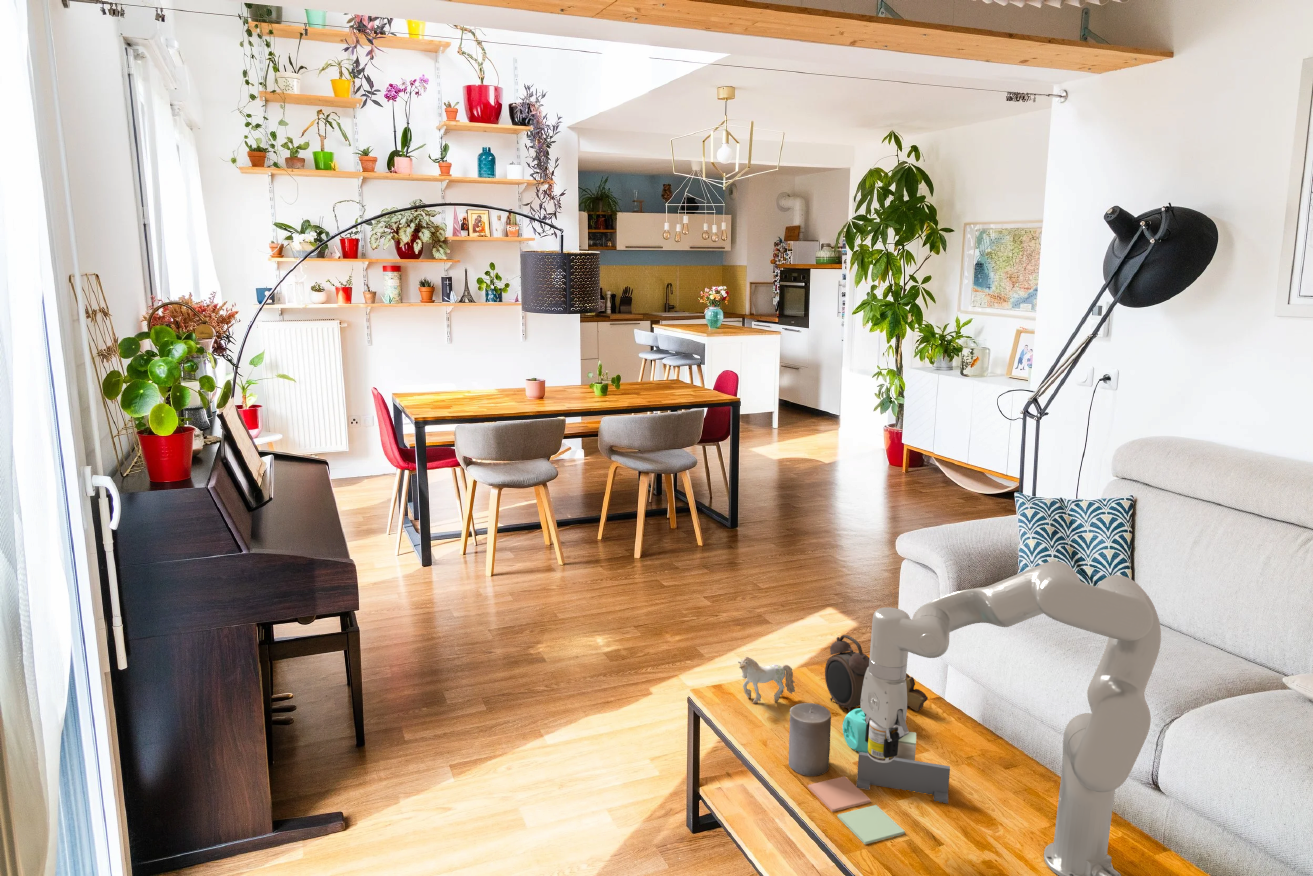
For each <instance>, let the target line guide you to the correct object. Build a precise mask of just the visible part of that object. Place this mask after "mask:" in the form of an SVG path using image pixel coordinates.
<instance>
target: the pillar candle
mask: <svg viewBox="0 0 1313 876" xmlns="http://www.w3.org/2000/svg"><path fill="white" fill-rule="evenodd" d="M831 724H832V714H831V711H830V710H829V709H828V708H827V707H825V706H823V705H821V704H818V703H812V702H803V703H802V702H801V703H797V704H795V705H794V706H792V707H790V709H789V734H788V735H789V737H788V766H789V768H790V769H792V770H793V771H794V772H796V774H800V775H803V776H808V777H815V776H820V775H823V774H826V773H827V772H828V771H829V769H830V753H831V752H830V750H831V729H832V728H831V726H832V725H831Z"/></svg>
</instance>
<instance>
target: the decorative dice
mask: <svg viewBox="0 0 1313 876" xmlns="http://www.w3.org/2000/svg"><path fill="white" fill-rule="evenodd" d="M842 733H843V734H842V735H843V738H844V740H845V743H846V744H847V746H848V747H849V748H850V749H851V748H852V749H851V750H853V749H854V750H853V751H855V750H856V751H855V752H857V751H858V753H859V752H864V753H868V743H867V742H866V741H865V735H866V723H865V714H864V712H863V711H862V709H861V708H858V707H856V708H854V709H851V712H849V711H848V713H847V714H846V715H845V716H844V719H843V722H842Z"/></svg>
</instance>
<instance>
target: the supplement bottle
mask: <svg viewBox="0 0 1313 876" xmlns="http://www.w3.org/2000/svg"><path fill="white" fill-rule="evenodd" d="M894 732H895V728H891V733H894ZM885 739H887V737H886V729H885V728H883V727H882V726H880V725H879V724H878V723H876V722H875V721H874V720H873V719H870V723H869V738H868V756H869V757H870V758H871V759H872V760H874V761H877V762H881V763H887V762H891V761H892V760H893V759H894V757H895V756H894V757H889V758H885V757H884V756H883V750H884V740H885Z"/></svg>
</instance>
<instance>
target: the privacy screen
mask: <svg viewBox="0 0 1313 876" xmlns="http://www.w3.org/2000/svg"><path fill="white" fill-rule="evenodd" d="M857 759H858V760H857V772H856V773H857V775H856V784H855V786H856V787H857V788H858V789H859V790H868V791H870V790H871V785H872V786H876V787H877V786H879V787H884V788H890V789H896V790H900V789H902V791H906V790H909V791H908V792H912V791H915V792H914V793H918V792H919V793H920V794H924V793H926V794H925V795H930V794H932V795H931V796H933V802H936V801H939V802H938V803H942V802H943V803H944V804H949V787H950V773H951V767H950V765H944V764H937V763H932V762H925V761H919V760H915V761H914V760H907V759H901V758H895V757H894V759H893V760H892V761H891V762H887V763H881V762H877V761H874V760H872V759H871V758H870V757H869V756H868V753H864V752H858V758H857Z"/></svg>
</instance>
